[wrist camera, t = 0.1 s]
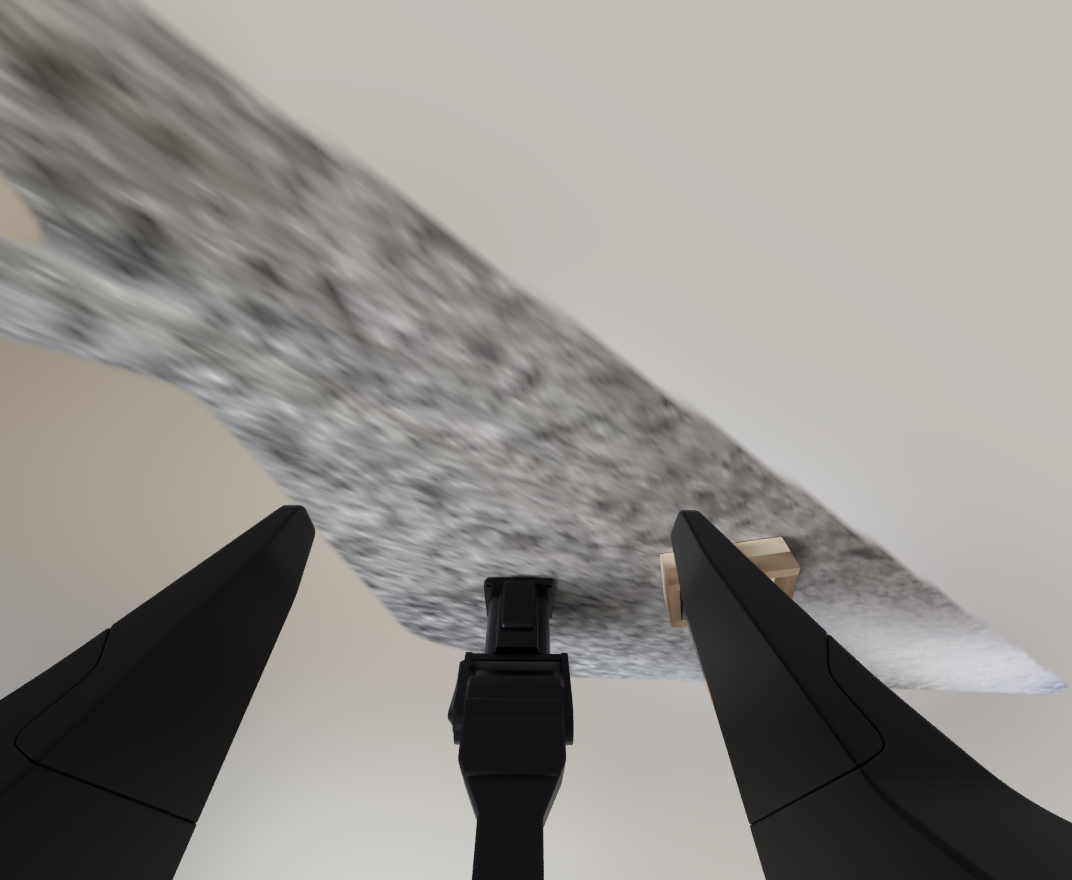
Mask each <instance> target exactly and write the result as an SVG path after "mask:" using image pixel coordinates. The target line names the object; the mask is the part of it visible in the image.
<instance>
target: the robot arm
mask: <svg viewBox="0 0 1072 880" xmlns="http://www.w3.org/2000/svg"><path fill="white" fill-rule="evenodd" d="M314 537H315V528H314V525H313V523H312V521H311V519H310V517H309V515H308V513H307V511H306V509H305V508H304V507H303V506H301V505H284V506H282V507H280V508H279V509H277V510H276V511H274V512H273V513H272V514H270V515H269V516H268V517H266V518H264V519H263V520H262V521H260V522H259V523H257V524H256V525H254V526H253V527H252V528H250V529H249V530H247V531H246V532H244V533H243V534H242V535H240V536H239V537H237V538H236V539H234V540H233V541H232V542H230V543H229V544H227V545H226V546H225V547H223V548H222V549H220V550H219V551H217V552H216V553H214V554H213V555H212V556H211V557H209V558H208V559H206V560H204V561H203V562H202V563H200V564H199V565H197V566H196V567H195V568H193V569H192V570H190V571H189V572H187V573H186V574H184V575H183V576H182V577H180V578H179V579H177V580H176V581H174V582H173V583H172V584H170V585H169V586H167V587H166V588H164V589H163V590H162V591H160V592H159V593H157V594H156V595H155V596H153V597H152V598H150V599H149V600H147V601H146V602H145V603H143V604H142V605H140V606H139V607H137V608H136V609H134V610H133V611H132V612H130V613H129V614H127V615H126V616H125V617H123V618H122V619H120V620H119V621H117V622H116V623H115V624H113V625H112V626H111V628H108V629H106V630H105V631H103V632H102V633H100V634H99V635H97V636H96V637H95V638H93V639H91V640H90V641H89V642H87V643H86V644H84V645H83V646H82V647H80V648H78V649H77V650H76V651H74V652H73V653H72V654H70V655H68V656H67V657H65V658H64V659H62V660H61V661H59V662H58V663H56V664H55V665H54V666H52V667H51V668H49V669H48V670H46V671H45V672H43V673H41V674H40V675H38V676H37V677H35V678H34V679H32V680H31V681H29V682H28V683H26V684H24V685H23V686H21V687H20V688H18V689H17V690H16V691H14V692H12V693H11V694H9V695H7V696H6V697H4V698H3V699H1V700H0V880H173V877H174V875H175V873H176V870H177V868H178V866H179V864H180V861H181V859H182V857H183V854H184V852H185V850H186V847H187V845H188V843H189V841H190V838H191V836H192V834H193V832H194V829H195V827H196V822H197V821H198V819H199V817H200V815H201V812H202V810H203V808H204V806H205V803H206V801H207V799H208V796H209V794H210V792H211V790H212V787H213V785H214V782H215V780H216V778H217V776H218V773H219V771H220V769H221V767H222V764H223V762H224V760H225V757H226V755H227V753H228V751H229V748H230V746H231V744H232V741H233V739H234V737H235V734H236V732H237V730H238V728H239V725H240V723H241V721H242V719H243V716H244V714H245V712H246V709H247V707H248V705H249V703H250V700H251V698H252V695H253V693H254V691H255V689H256V687H257V684H258V682H259V680H260V677H261V675H262V672H263V670H264V668H265V666H266V664H267V661H268V659H269V657H270V654H271V652H272V650H273V648H274V645H275V643H276V641H277V638H278V636H279V634H280V632H281V629H282V627H283V625H284V622H285V620H286V618H287V616H288V613H289V611H290V608H291V606H292V604H293V601H294V599H295V596H296V594H297V591H298V588H299V585H300V581H301V579H302V575H303V572H304V569H305V566H306V562H307V559H308V556H309V553H310V550H311V547H312V543H313V540H314ZM671 541H672V547H673V553H674V558H675V564H676V569H677V575H678V580H679V586H680V591H681V596H682V601H683V604H684V608H685V612H686V615H687V618H688V622H689V625H690V628H691V632H692V635H693V638H694V642H695V645H696V648H697V652H698V655H699V658H700V662H701V665H702V668H703V671H704V675H705V678H706V681H707V685H708V688H709V691H710V695H711V698H712V701H713V705H714V708H715V711H716V715H717V718H718V721H719V724H720V728H721V731H722V735H723V738H724V741H725V744H726V748H727V751H728V755H729V758H730V761H731V764H732V768H733V771H734V774H735V778H736V781H737V784H738V788H739V791H740V794H741V798H742V801H743V804H744V808H745V811H746V814H747V818H748V821H749V823H750V824H751V825H750V828H751V831H752V835H753V838H754V842H755V845H756V848H757V852H758V855H759V858H760V862H761V865H762V868H763V872H764V875H765V878H766V880H1072V823H1071V822H1069V821H1067V820H1065V819H1063V818H1061V817H1059V816H1057V815H1055V814H1053V813H1051V812H1049V811H1047V810H1046V809H1044V808H1042V807H1040V806H1039V805H1037V804H1035V803H1034V802H1032V801H1030V800H1029V799H1027V798H1026V797H1024V796H1023V795H1021V794H1020V793H1018V792H1016V791H1015V790H1013V789H1012V788H1010V787H1009V786H1008V785H1006V784H1005V783H1004V782H1002V781H1001V780H999V779H998V778H997V777H995V776H994V775H993V774H991V773H990V772H989V771H988V770H986V769H985V768H984V767H983V766H982V765H980V764H979V763H978V762H977V761H976V760H974V759H973V758H972V757H971V756H969V755H968V754H967V753H966V752H965V751H963V750H962V749H961V748H960V747H959V746H957V745H956V744H955V743H954V742H953V741H951V740H950V739H949V738H948V737H947V736H945V735H944V734H943V733H942V732H940V731H939V730H938V729H937V728H936V727H935V726H933V725H932V724H931V723H930V722H929V721H927V720H926V719H925V718H924V717H923V716H921V715H920V714H919V713H918V712H916V711H915V710H914V709H913V708H912V707H910V706H909V705H908V704H907V703H906V702H904V701H903V700H902V699H901V698H900V697H899V696H897V695H896V694H895V693H894V692H893V691H892V690H890V689H889V688H888V687H887V686H886V685H885V684H883V683H882V682H881V681H880V680H879V679H878V678H876V677H875V676H874V675H873V674H872V673H871V672H870V671H869V670H867V669H866V668H865V667H864V666H863V665H862V664H861V663H860V662H859V661H858V660H856V659H855V658H854V657H853V656H852V655H851V654H850V653H849V652H848V651H847V650H846V649H844V648H843V647H842V646H841V645H840V644H839V643H838V642H837V641H836V640H835V639H834V638H833V637H832V636H831V635H827V632H826V631H825V630H824V629H823V628H822V627H821V626H820V625H819V624H818V623H817V622H816V621H815V620H813V619H812V618H811V617H810V616H809V615H808V614H807V613H806V612H805V611H804V610H803V609H802V608H801V607H800V606H799V605H798V604H797V603H795V602H794V601H793V600H792V599H791V598H790V597H789V596H788V595H787V594H786V593H785V592H784V591H783V590H782V589H781V588H780V587H778V586H777V585H776V584H775V583H774V582H773V581H772V580H771V579H770V578H769V577H768V576H767V575H766V574H765V573H764V572H763V571H762V570H760V569H759V568H758V567H757V566H756V565H755V564H754V563H753V562H752V561H751V560H750V559H749V558H748V557H747V556H746V555H745V554H743V553H742V552H741V551H740V550H739V549H738V548H737V547H736V546H735V545H734V544H733V543H732V542H731V541H730V540H729V539H728V538H726V537H725V536H724V535H723V534H722V533H721V532H720V531H719V530H718V529H717V528H716V527H715V526H714V525H713V524H712V523H711V522H710V521H708V520H707V519H706V518H705V517H704V516H703V515H702V514H701V513H700V512H698V511H696V510H681V511H680V512H679V513H678V516H677V518H676V521H675V524H674V527H673V529H672V533H671ZM484 592H485V601H486V610H487V617H488V624H487V634H486V644H485V653H473V652H466V655H465V660H463V661H461V662H460V665H459V673H458V679H457V684H456V688H455V691H454V695H453V698H452V701H451V705H450V708H449V712H448V719H449V721H450V723H451V724H452V725H453V733H454V743H455V744H460V746H459V755H458V758H459V759H458V761H459V765H460V769H461V772H462V776H463V780H464V783H465V787H466V790H467V793H468V795H469V799H470V801H471V805H472V807H473V811H474V814H475V817H476V819H477V828H476V840H475V851H474V862H473V874H472V880H544V868H543V867H544V865H543V864H544V860H543V827H544V825H545V822H546V820H547V817H548V815H549V813H550V810H551V808H552V805H553V803H554V800H555V798H556V796H557V793H558V791H559V788H560V786H561V783H562V778H563V773H564V767H565V762H566V748H565V747H566V745H572V744H573V703H572V692H571V682H570V673H569V663H568V654H567V653H561V654H550V628H549V619H551V618H552V607H553V595H554V581H553V580H550V579H486V580H485V581H484Z"/></svg>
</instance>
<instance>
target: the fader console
mask: <svg viewBox="0 0 1072 880" xmlns="http://www.w3.org/2000/svg"><path fill="white" fill-rule="evenodd" d="M733 544H734V545H735V546H736V547H737V548H738V549H739V550H740V551H741V552H742V553H743V554H745V555H746V556H747V557H748V558H749V559H750V560H751V561H752V562H753V563H754V564H755V565H756V566H757V567H758V568H759V569H760V570H762V571H763V572H764V573H765V574H766V575H767V576H768V577H769V578H770V579H771V580H772V581H773V582H774V583H775V584H776V585H777V586H778V587H780V588H781V589H782V590H783V591H784V592H785V593H786V594H787V595H788V596H789V597H790V598H791V599H792V597H793V593H794V590H795V586H796V582H797V579H798V575H799V571H800V568H801V567H800V566H799V564H798V563H797V561H796V559H795V558H794V556H793V554H792V553H791V551H790V549H789V548H788V546H787V545H786V543H785V541H784V540H783V538H782V536H781V537H774V538H767V539H760V540H753V541H747V542H740V543H733ZM660 561H661V571H662V582H663V593H664V599H665V603H666V606H667V610H668V614H669V617H670V621H671V624H672V627H676V626H685V625H688V624H687V621H686V618H685V614H684V611H683V608H682V605H681V591H680V586H679V580H678V575H677V569H676V564H675V558H674V553H673V552H672V553H665V554H660Z"/></svg>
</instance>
